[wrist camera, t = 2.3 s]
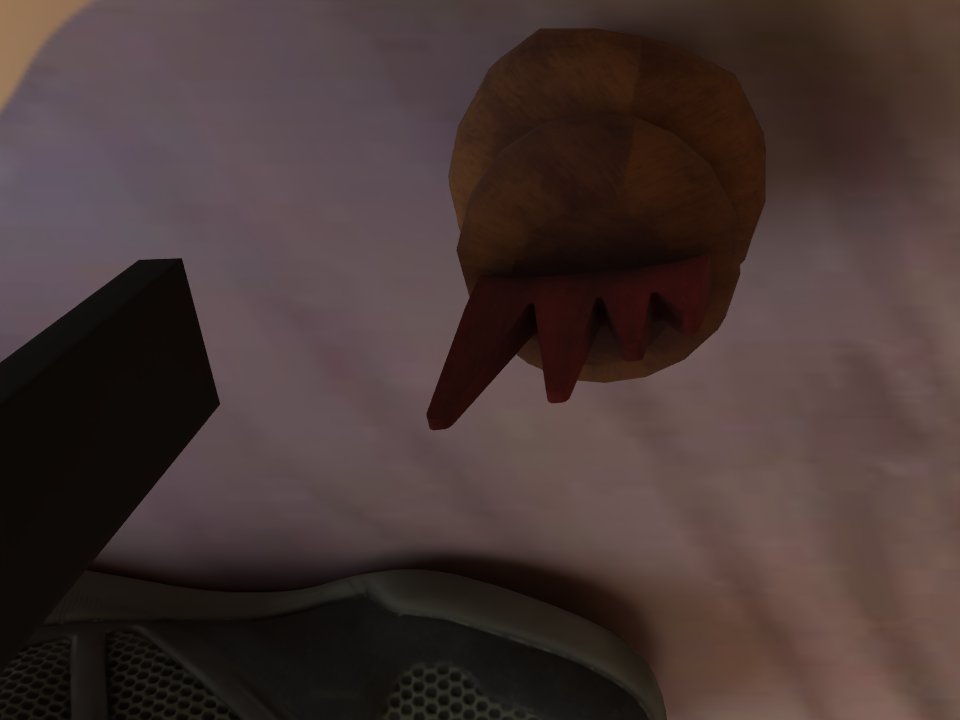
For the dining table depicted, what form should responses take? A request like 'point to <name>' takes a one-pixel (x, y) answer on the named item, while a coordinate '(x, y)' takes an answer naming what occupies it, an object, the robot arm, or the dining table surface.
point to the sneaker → (323, 655)
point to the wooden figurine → (597, 211)
